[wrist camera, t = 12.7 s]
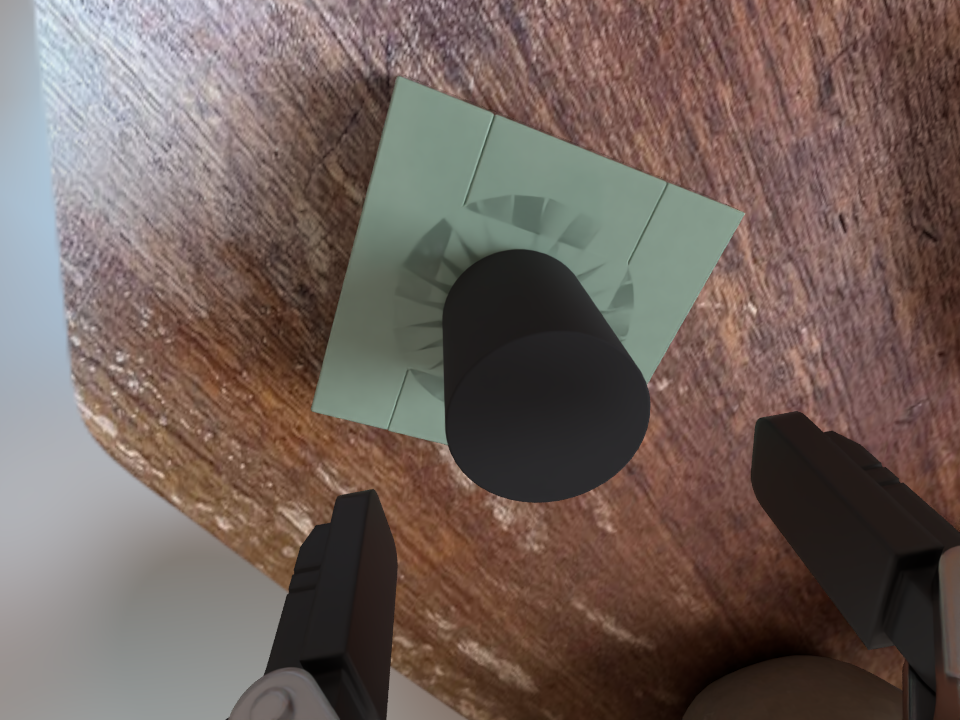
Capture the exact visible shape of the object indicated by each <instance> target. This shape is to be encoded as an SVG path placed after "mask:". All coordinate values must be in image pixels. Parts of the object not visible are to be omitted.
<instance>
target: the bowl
mask: <svg viewBox="0 0 960 720" xmlns="http://www.w3.org/2000/svg"><path fill="white" fill-rule="evenodd" d="M682 720H902V690H900V689H899V688H897V687H895V686H893V685H892V684H890V683H888V682H886V681H885V680H883V679H881V678H879V677H877V676H875V675H874V674H872V673H870V672H868V671H866V670H864V669H861V668H859V667H857V666H855V665H852V664H850V663H846V662H843V661H839V660H835V659H832V658H827V657H819V656H805V655H794V656H786V657H781V658H776V659H771V660H766V661H763V662H760V663H757V664H753V665H750V666H747V667H745V668H742V669H740V670H737V671H735V672H732V673H730V674H727V675H725V676H723V677H721V678H720V679H718V680H716V681H714V682H712V683H711V684H709V685H708V686H707V687H706V688H705V689H703V690H702V691H701V692H700V693H699V694H698V695H697V696H696V697H695V699H694V700H693V701H692V702H691V704H690V705H689V707H688V709H687V710H686V712H685V714H684V716H683V718H682Z"/></svg>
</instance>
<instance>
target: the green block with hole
mask: <svg viewBox="0 0 960 720" xmlns="http://www.w3.org/2000/svg"><path fill="white" fill-rule="evenodd" d="M744 214H745V213H744V212H742V211H740V210H738V209H736V208H733V207H731V206H729V205H727V204H725V203H722V202H720V201H718V200H716V199H714V198H712V197H709V196H707V195H705V194H702V193H700V192H697V191H695V190H692V189H690V188H687V187H685V186H682V185H680V184H677V183H675V182H672V181H670V180H667V179H665V178H662V177H660V176H657V175H654V174H652V173H649V172H647V171H644V170H642V169H639V168H637V167H634V166H632V165H629V164H627V163H624V162H622V161H619V160H617V159H614V158H612V157H609V156H607V155H604V154H602V153H599V152H597V151H594V150H592V149H589V148H587V147H584V146H581V145H579V144H576V143H574V142H571V141H569V140H566V139H564V138H561V137H559V136H556V135H554V134H551V133H549V132H546V131H544V130H541V129H539V128H536V127H534V126H531V125H529V124H526V123H524V122H521V121H519V120H516V119H514V118H511V117H508V116H506V115H503V114H501V113H498V112H496V111H493V110H491V109H487V108H485V107H483V106H481V105H478V104H476V103H473V102H471V101H468V100H466V99H463V98H461V97H458V96H456V95H453V94H451V93H448V92H446V91H443V90H441V89H438V88H435V87H433V86H430V85H428V84H425V83H423V82H420V81H418V80H415V79H413V78H410V77H408V76H398V77H397V78H396V81H395V85H394V89H393V93H392V97H391V100H390V104H389V108H388V112H387V116H386V120H385V124H384V127H383V131H382V135H381V139H380V143H379V147H378V151H377V155H376V158H375V162H374V166H373V170H372V174H371V178H370V182H369V186H368V189H367V193H366V197H365V201H364V205H363V209H362V213H361V217H360V220H359V224H358V228H357V232H356V236H355V240H354V244H353V247H352V251H351V255H350V259H349V263H348V267H347V271H346V275H345V278H344V282H343V286H342V290H341V294H340V298H339V302H338V306H337V309H336V313H335V317H334V321H333V325H332V329H331V333H330V336H329V340H328V344H327V348H326V352H325V356H324V360H323V364H322V367H321V371H320V375H319V379H318V383H317V387H316V391H315V395H314V398H313V402H312V406H311V411H313V412H316V413H321V414H325V415H329V416H333V417H337V418H341V419H345V420H349V421H353V422H357V423H361V424H365V425H369V426H373V427H378V428H382V429H387V428H388V430H389V431H392V432H396V433H400V434H404V435H409V436H413V437H417V438H421V439H425V440H429V441H433V442H437V443H441V444H445V445H448V444H447V439H446V434H445V406H444V368H443V330H442V315H443V308H444V304H445V301H446V298H447V296H448V293H449V291H450V289H451V288H452V286H453V284H454V283H455V281H456V280H457V279H458V278H459V276H460V275H461V274H462V273H463V272H464V271H465V270H466V269H467V268H469V267H470V266H471V265H473V264H474V263H475V262H477V261H479V260H481V259H482V258H484V257H486V256H489V255H491V254H494V253H497V252H501V251H506V250H513V249H526V250H533V251H538V252H541V253H545V254H547V255H549V256H552V257H554V258H555V259H557V260H559V261H561V262H562V263H563V264H564V265H566V266H567V267H568V268H569V269H570V270H571V271H572V272H573V273H574V274H575V276H576V277H577V279H578V280H579V282H580V283H581V285H582V286H583V287H584V289H585V290H586V292H587V293H588V295H589V296H590V298H591V299H592V301H593V302H594V304H595V305H596V306H597V308H598V309H599V311H600V312H601V314H602V315H603V317H604V318H605V320H606V321H607V323H608V324H609V325H610V327H611V328H612V330H613V331H614V333H615V334H616V336H617V337H618V339H619V340H620V342H621V343H622V344H623V346H624V347H625V349H626V350H627V352H628V353H629V355H630V356H631V358H632V359H633V360H634V362H635V363H636V365H637V366H638V368H639V369H640V371H641V372H642V374H643V377H644V379H645V381H646V383H647V384H648V382H649V380H650V379H651V377H652V375H653V373H654V372H655V370H656V368H657V366H658V365H659V363H660V361H661V359H662V358H663V356H664V354H665V352H666V351H667V349H668V347H669V345H670V344H671V342H672V340H673V338H674V337H675V335H676V333H677V331H678V330H679V328H680V326H681V324H682V323H683V321H684V319H685V317H686V316H687V314H688V312H689V310H690V309H691V307H692V305H693V304H694V302H695V300H696V298H697V297H698V295H699V293H700V291H701V290H702V288H703V286H704V284H705V283H706V281H707V279H708V277H709V276H710V274H711V272H712V270H713V269H714V267H715V265H716V263H717V262H718V260H719V258H720V256H721V255H722V253H723V251H724V249H725V248H726V246H727V244H728V242H729V241H730V239H731V237H732V235H733V234H734V232H735V230H736V228H737V227H738V225H739V223H740V221H741V220H742V218H743V216H744Z"/></svg>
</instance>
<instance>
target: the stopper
mask: <svg viewBox="0 0 960 720" xmlns="http://www.w3.org/2000/svg"><path fill="white" fill-rule="evenodd" d="M442 330H443V368H444V406H445V434H446V439H447V444H448V447H449V450H450V453H451V455H452V456H453V458H454V460H455V462H456V464H457V465H458V466H459V468H460V469H461V470H462V472H463V473H464V474H465V475H466V476H467V477H468V478H469V479H470V480H472V481H473V482H474V483H476V484H477V485H478V486H480V487H481V488H483V489H485V490H487V491H488V492H490V493H493V494H495V495H498V496H500V497H503V498H507V499H510V500H515V501H521V502H534V503H537V502H552V501H559V500H564V499H568V498H572V497H575V496H578V495H581V494H584V493H586V492H588V491H590V490H592V489H595V488H596V487H598V486H600V485H601V484H603V483H605V482H606V481H608V480H609V479H610V478H612V477H613V476H615V475H616V474H617V473H618V472H619V471H620V470H621V469H622V468H623V467H624V466H625V465H626V464H627V463H628V462H629V461H630V460H631V458H632V457H633V456H634V454H635V453H636V451H637V450H638V448H639V446H640V444H641V443H642V441H643V439H644V436H645V433H646V430H647V428H648V423H649V418H650V396H649V391H648V387H647V383H646V381H645V379H644V377H643V374H642V372H641V371H640V369H639V368H638V366H637V365H636V363H635V362H634V360H633V359H632V358H631V356H630V355H629V353H628V352H627V350H626V349H625V347H624V346H623V344H622V343H621V342H620V340H619V339H618V337H617V336H616V334H615V333H614V331H613V330H612V328H611V327H610V325H609V324H608V323H607V321H606V320H605V318H604V317H603V315H602V314H601V312H600V311H599V309H598V308H597V306H596V305H595V304H594V302H593V301H592V299H591V298H590V296H589V295H588V293H587V292H586V290H585V289H584V287H583V286H582V285H581V283H580V282H579V280H578V279H577V277H576V276H575V274H574V273H573V272H572V271H571V270H570V269H569V268H568V267H567V266H566V265H564V264H563V263H562V262H561V261H559V260H557V259H555V258H554V257H552V256H549V255H547V254H545V253H541V252H538V251H533V250H526V249H513V250H506V251H501V252H497V253H494V254H491V255H489V256H486V257H484V258H482V259H481V260H479V261H477V262H475V263H474V264H473V265H471V266H470V267H469V268H467V269H466V270H465V271H464V272H463V273H462V274H461V275H460V276H459V278H458V279H457V280H456V281H455V283H454V284H453V286H452V288H451V289H450V291H449V293H448V296H447V298H446V301H445V304H444V308H443V315H442Z"/></svg>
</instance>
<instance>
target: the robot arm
mask: <svg viewBox="0 0 960 720" xmlns="http://www.w3.org/2000/svg"><path fill="white" fill-rule="evenodd" d="M751 482H752V487H753V490H754V493H755V495H756V498H757V500H758V501H759V503H760V505H761V506H762V508H763V509H764V510H765V512H766V513H767V514H768V516H769V517H770V518H771V520H772V521H773V522H774V524H775V525H776V526H777V528H778V529H779V530H780V532H781V533H782V534H783V536H784V537H785V538H786V540H787V541H788V542H789V544H790V545H791V546H792V548H793V549H794V551H795V552H796V553H797V555H798V556H799V557H800V559H801V560H802V561H803V563H804V564H805V565H806V567H807V568H808V569H809V571H810V572H811V573H812V575H813V576H814V577H815V579H816V580H817V581H818V583H819V584H820V585H821V587H822V588H823V589H824V591H825V592H826V593H827V595H828V596H829V598H830V599H831V600H832V602H833V603H834V604H835V606H836V607H837V608H838V610H839V611H840V612H841V614H842V615H843V616H844V618H845V619H846V620H847V622H848V623H849V624H850V626H851V627H852V628H853V630H854V631H855V632H856V634H857V635H858V636H859V638H860V639H861V640H862V642H863V643H864V645H865V646H866V647H867V649H868V650H871V649H877V648H882V647H888V646H894V645H895V646H896V647H897V649H898V650H899V651H900V652H901V654H902V655H903V656H904V657H905V661H904V664H903V670H902V720H960V532H958V531H957V530H956V529H955V528H954V527H953V526H952V525H951V524H949V523H948V522H947V521H946V520H945V519H944V518H943V517H942V516H940V515H939V514H938V513H937V512H936V511H935V510H934V509H933V508H931V507H930V506H929V505H928V504H927V503H926V502H925V501H923V500H922V499H921V498H920V497H919V496H918V495H917V494H916V493H914V492H913V491H912V490H911V489H910V488H909V487H908V486H907V485H905V484H904V483H900V482H899V478H898V477H896V476H895V475H894V474H893V473H892V472H891V471H890V470H888V469H887V468H886V467H882V465H881V462H879V461H878V460H877V459H876V458H875V457H874V456H873V455H872V454H870V453H869V452H868V451H867V450H866V449H865V448H864V447H863V446H861V445H860V444H858V443H856V442H854V441H852V440H850V439H848V438H846V437H844V436H842V435H840V434H838V433H836V432H834V431H828V432H822V431H821V430H820V429H819V428H818V427H817V426H816V425H815V424H814V423H813V422H812V421H811V420H810V419H809V418H808V417H807V416H805V415H804V414H803V413H801V412H798V411H795V412H789V413H784V414H779V415H773V416H768V417H762V418H759V419H758V420H757V422H756V425H755V433H754V444H753V455H752V467H751ZM396 583H397V553H396V547H395V543H394V539H393V536H392V533H391V531H390V528H389V525H388V522H387V519H386V517H385V514H384V511H383V508H382V505H381V503H380V500H379V497H378V495H377V493H376V491H375V490H374V489H371V490H366V491H360V492H355V493H350V494H344V495H339V496H338V497H337V499H336V502H335V506H334V510H333V514H332V519H331V523H327V524H321V525H316V526H315V527H314V529H313V530H312V532H311V533H310V534H309V536H308V537H307V539H306V540H305V541H304V543H303V544H302V546H301V547H300V550H299V554H298V557H297V561H296V564H295V568H294V575H292V579H291V582H290V586H289V594H287V596H286V600H285V604H284V607H283V611H282V614H281V618H280V622H279V625H278V629H277V632H276V636H275V639H274V643H273V646H272V650H271V654H270V657H269V661H268V664H267V668H266V670H265V673H264V676H263V677H261V678H260V679H259V680H257V681H256V682H255V683H254V684H252V685H251V686H250V687H249V688H248V689H247V690H246V692H244V694H243V695H242V696H241V697H240V699H239V700H238V702H237V703H236V705H235V706H234V708H233V710H232V712H231V714H230V717H229V718H227V719H226V720H386V717H387V703H388V690H389V676H390V663H391V650H392V636H393V623H394V610H395V596H396Z"/></svg>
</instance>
